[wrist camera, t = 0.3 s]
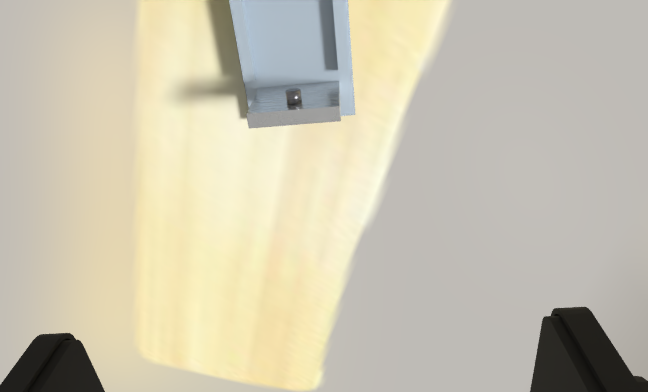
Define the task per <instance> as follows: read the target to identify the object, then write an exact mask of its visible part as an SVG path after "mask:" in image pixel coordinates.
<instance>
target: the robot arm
mask: <svg viewBox="0 0 648 392" xmlns="http://www.w3.org/2000/svg"><path fill="white" fill-rule="evenodd" d="M0 392H105V391H104V389H103V387H102V385H101V382H100V380H99V378H98V376H97V374H96V372H95V370H94V368H93V366H92V363H91V361H90V359H89V357H88V355H87V353H86V350H85V348H84V346H83V344H82V343H81V341H79V340H76V339H75V338H74V336H73V335H72V334H70V333H59V334H42V335H39V336H37V337H36V338H35V339H34V340H33V341H32V343H31V344H30V345H29V347H28V348H27V349H26V351H25V352H24V354H23V355H22V356H21V358H20V359H19V360H18V362H17V363H16V365H15V366H14V367H13V368H12V370H11V371H10V373H9V374H8V375H7V377H6V378H5V379H4V381H3V382H2V384H1V385H0ZM530 392H648V381H647V380H645V379H644V378H643V377H639V376H633V375H632V373H631V372H630V371H629V369H628V367H627V366H626V364H625V363H624V361H623V360H622V358H621V356H620V355H619V353H618V352H617V350H616V349H615V347H614V346H613V344H612V343H611V341H610V340H609V338H608V337H607V335H606V334H605V332H604V330H603V329H602V327H601V326H600V324H599V323H598V321H597V320H596V318H595V317H594V315H593V313H592V312H591V311H590V310H589V309H588V308H587V307H573V308H555V309H553V311H552V314H551V316H548V317H547V316H546V317H544V318H543V321H542V326H541V333H540V338H539V344H538V349H537V355H536V361H535V367H534V373H533V379H532V385H531V391H530Z"/></svg>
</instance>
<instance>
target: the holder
mask: <svg viewBox="0 0 648 392" xmlns="http://www.w3.org/2000/svg"><path fill="white" fill-rule="evenodd" d="M229 3H230V8H231V14H232V20H233V25H234V31H235V36H236V42H237V47H238V53H239V58H240V64H241V70H242V75H243V81H244V85H245V90H246V96H247V101H248V107H250V105H251V103H252V101H253V99H254V96H255V94H256V92H257V90H258V88H262V87H273V86H285V85H297V84H309V83H320V82H332V81H339V83H340V104H341V116H345V115H355V103H354V87H353V72H352V57H351V42H350V27H349V11H348V0H229Z"/></svg>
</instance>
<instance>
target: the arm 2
mask: <svg viewBox="0 0 648 392" xmlns="http://www.w3.org/2000/svg"><path fill="white" fill-rule="evenodd" d="M246 115H247V121H248V126H249V128H260V127H272V126H285V125H297V124H310V123H322V122H335V121H341V104H340V83H339V81H332V82H320V83H309V84H297V85H285V86H273V87H262V88H258V90H257V92H256V94H255V96H254V99H253V101H252V103H251V105H250V107H249V109H248V111H247V113H246Z"/></svg>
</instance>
